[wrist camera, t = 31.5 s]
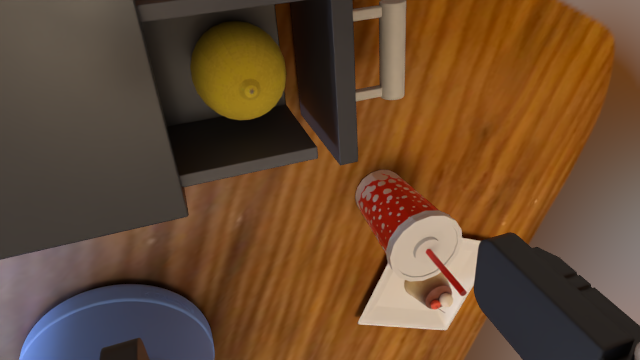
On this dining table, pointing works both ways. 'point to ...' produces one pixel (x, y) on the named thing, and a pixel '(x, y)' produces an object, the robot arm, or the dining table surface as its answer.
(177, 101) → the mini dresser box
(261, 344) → the dining table surface
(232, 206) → the dining table surface
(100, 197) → the dark drawer cabinet
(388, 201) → the beverage cup
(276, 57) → the lemon
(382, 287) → the dessert
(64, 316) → the water jug
